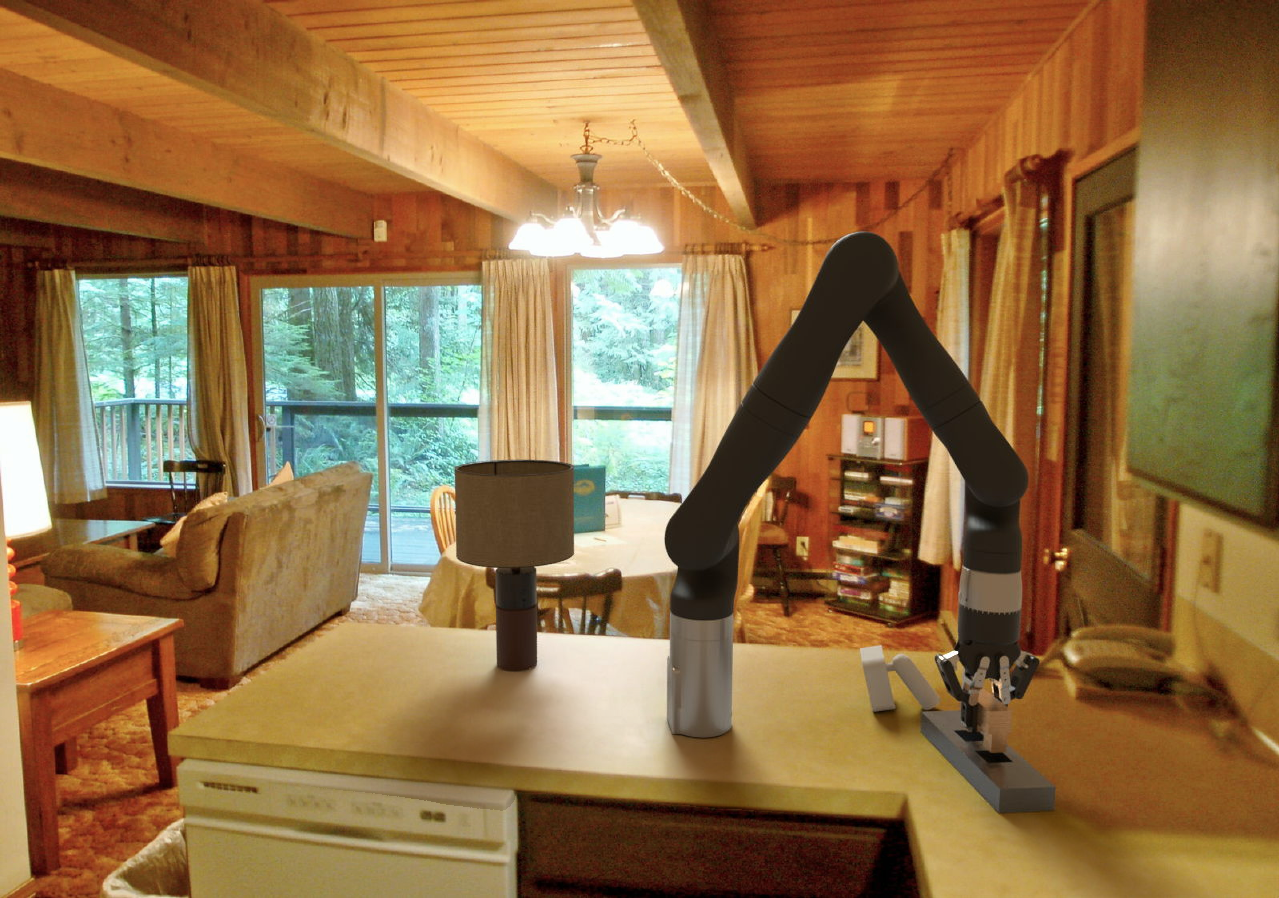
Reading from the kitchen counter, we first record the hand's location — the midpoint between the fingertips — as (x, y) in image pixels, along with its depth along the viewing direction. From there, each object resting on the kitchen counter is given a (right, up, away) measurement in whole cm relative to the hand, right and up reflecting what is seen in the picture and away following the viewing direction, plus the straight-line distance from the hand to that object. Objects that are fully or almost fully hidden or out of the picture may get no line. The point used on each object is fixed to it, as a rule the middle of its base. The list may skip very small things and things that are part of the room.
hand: (983, 728), depth 112 cm
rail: (0, -5, +1) cm, 5 cm away
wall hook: (-5, -3, +20) cm, 21 cm away
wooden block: (0, -1, 0) cm, 1 cm away
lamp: (-67, -1, +37) cm, 77 cm away
